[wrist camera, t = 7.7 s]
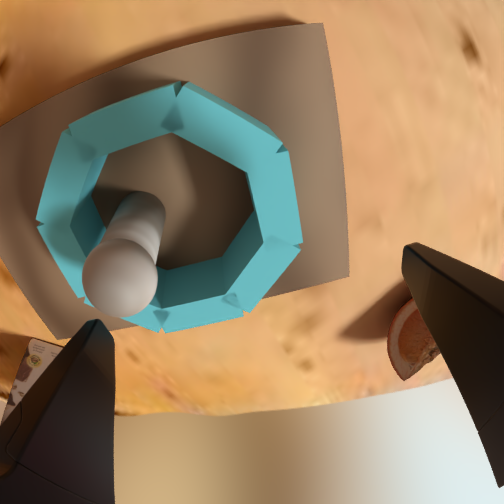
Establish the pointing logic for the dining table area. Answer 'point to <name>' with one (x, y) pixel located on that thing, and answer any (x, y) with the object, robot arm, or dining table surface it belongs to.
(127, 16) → the dining table surface
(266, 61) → the hook board
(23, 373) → the coffee box
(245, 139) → the teal octagonal ring
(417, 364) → the fruit slice
